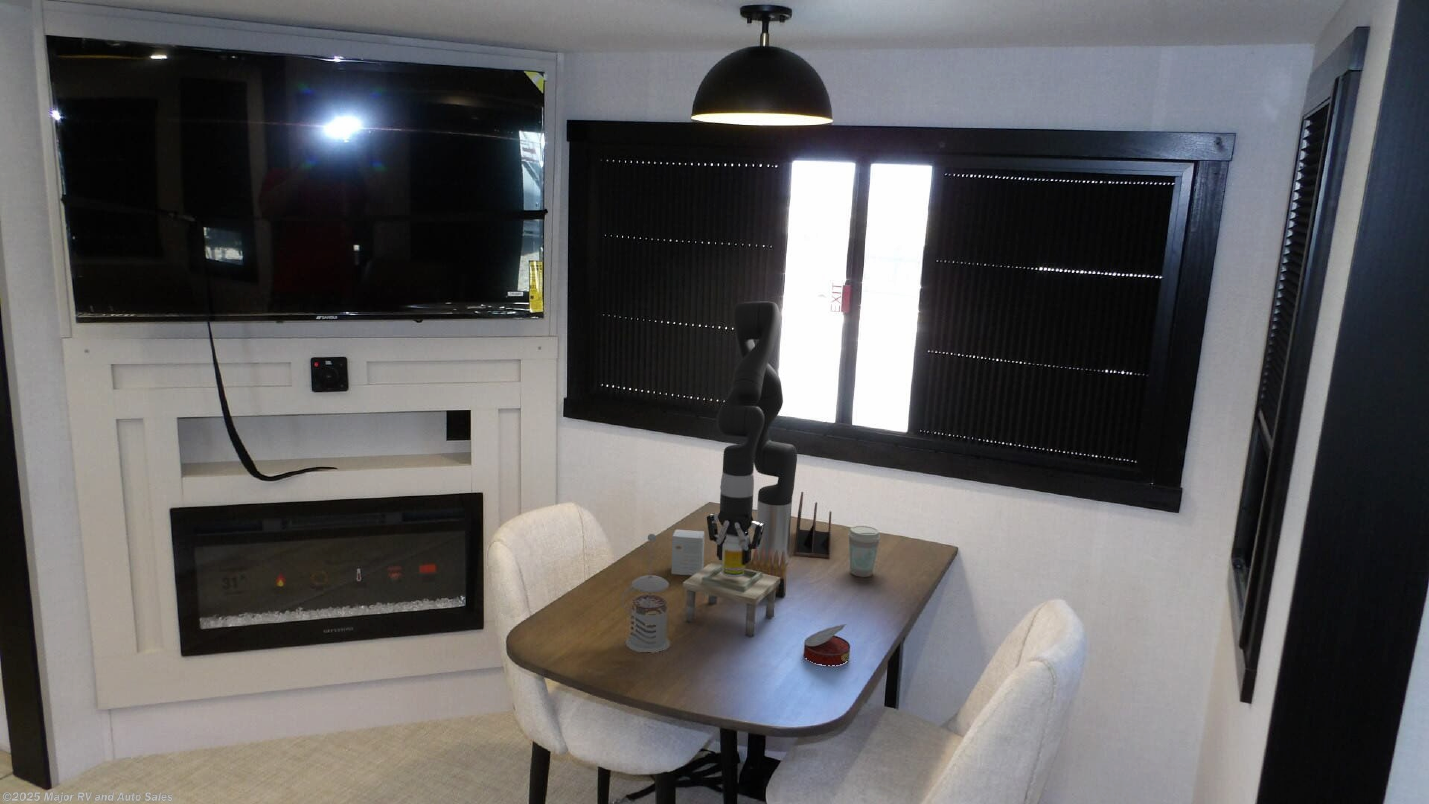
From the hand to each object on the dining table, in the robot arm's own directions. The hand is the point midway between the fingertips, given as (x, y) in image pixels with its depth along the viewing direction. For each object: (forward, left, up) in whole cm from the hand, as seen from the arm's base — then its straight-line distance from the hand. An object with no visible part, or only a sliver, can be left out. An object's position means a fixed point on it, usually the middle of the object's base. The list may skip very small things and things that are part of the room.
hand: (733, 561), depth 223 cm
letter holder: (-58, -1, -14) cm, 60 cm away
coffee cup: (-45, +18, -14) cm, 50 cm away
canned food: (+7, +26, -14) cm, 31 cm away
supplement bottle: (0, 0, -3) cm, 3 cm away
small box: (-21, -22, -14) cm, 34 cm away
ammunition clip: (-18, +1, -14) cm, 23 cm away
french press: (+21, -11, -14) cm, 28 cm away
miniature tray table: (0, 0, -14) cm, 14 cm away
